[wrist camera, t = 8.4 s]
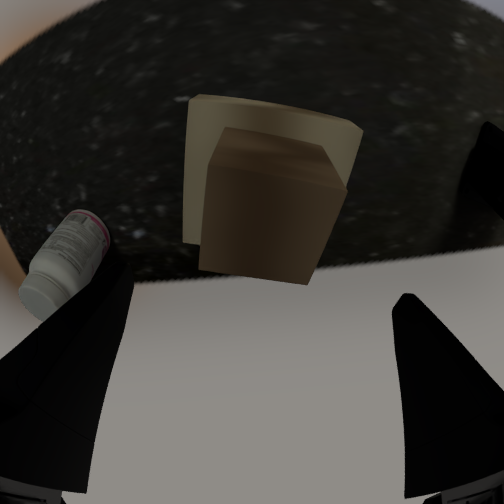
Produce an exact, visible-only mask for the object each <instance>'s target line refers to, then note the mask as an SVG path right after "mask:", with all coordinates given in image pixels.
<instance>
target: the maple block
mask: <svg viewBox="0 0 504 504" xmlns="http://www.w3.org/2000/svg"><path fill="white" fill-rule="evenodd" d="M225 127H230V128H237V129H243V130H249V131H255V132H261V133H266V134H271V135H277V136H281V137H286V138H291V139H295V140H300V141H304V142H308V143H313V144H317V145H321V146H322V147H323V148H324V150H325V152H326V153H327V155H328V157H329V159H330V160H331V162H332V164H333V165H334V167H335V169H336V171H337V173H338V174H339V176H340V178H341V180H342V182H343V183H344V185H345V187H346V185H347V182H348V179H349V176H350V173H351V170H352V167H353V164H354V160H355V157H356V154H357V151H358V148H359V144H360V141H361V138H362V134H363V131H362V130H361V129H360V128H359V127H357V126H356V125H355V124H353V123H352V122H351V121H349V120H345V119H342V118H338V117H334V116H330V115H326V114H322V113H318V112H314V111H310V110H305V109H300V108H296V107H291V106H286V105H280V104H275V103H269V102H263V101H256V100H249V99H241V98H233V97H224V96H214V95H201V94H199V95H197V96H196V97H194V98H192V99H191V100H189V107H188V119H187V132H186V148H185V167H184V195H183V243H191V244H198V245H200V242H201V229H202V218H203V207H204V196H205V186H206V177H207V168H208V163H209V161H210V159H211V156H212V154H213V152H214V150H215V147H216V145H217V143H218V141H219V139H220V136H221V134H222V132H223V130H224V128H225Z"/></svg>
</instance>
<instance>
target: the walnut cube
mask: <svg viewBox="0 0 504 504" xmlns="http://www.w3.org/2000/svg"><path fill="white" fill-rule="evenodd" d="M347 192H348V191H347V189H346V187H345V185H344V183H343V182H342V180H341V178H340V176H339V174H338V173H337V171H336V169H335V167H334V165H333V164H332V162H331V160H330V159H329V157H328V155H327V153H326V152H325V150H324V148H323V147H322V146H321V145H317V144H313V143H308V142H304V141H300V140H295V139H291V138H286V137H281V136H277V135H271V134H266V133H261V132H255V131H249V130H243V129H237V128H230V127H225V128H224V130H223V132H222V134H221V136H220V139H219V141H218V143H217V145H216V147H215V150H214V152H213V154H212V156H211V159H210V161H209V163H208V168H207V177H206V186H205V196H204V207H203V218H202V229H201V242H200V256H199V270H206V271H212V272H218V273H225V274H232V275H238V276H245V277H252V278H259V279H266V280H273V281H280V282H288V283H295V284H302V285H308V283H309V281H310V279H311V276H312V274H313V272H314V270H315V268H316V265H317V263H318V261H319V259H320V256H321V254H322V252H323V250H324V247H325V245H326V243H327V240H328V238H329V236H330V233H331V231H332V229H333V226H334V224H335V222H336V219H337V217H338V214H339V212H340V209H341V207H342V204H343V202H344V199H345V197H346V194H347Z"/></svg>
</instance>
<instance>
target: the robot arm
mask: <svg viewBox="0 0 504 504" xmlns="http://www.w3.org/2000/svg"><path fill="white" fill-rule="evenodd" d="M465 189H466V190H465ZM460 192H461V194H463V195H464V196H465V197H468V198H470V199H473V200H475V201H477V202H480V203H482V204H484V205H487V206H489V207H491V208H493V210H494V211H495V212H496V213H497V214H498V215H499V216H500V217H501V218H502V219H503V220H504V132H503V131H502V130H500V129H499V128H498V127H496V126H495V125H494V124H492V123H490V122H488V121H487V122H485V123H484V126H483V129H482V132H481V135H480V138H479V141H478V144H477V147H476V149H475V152H474V155H473V157H472V160H471V163H470V165H469V168H468V170H467V173H466V175H465V177H464V180H463V182H462V184H461V187H460ZM133 289H134V280H133V275H132V270H131V266H130V264H129V263H126V262H119V261H118V262H116V263H114V264H113V265H112V266H110V267H109V268H108V269H106V270H105V271H104V272H103V273H101V274H100V275H99V276H97V277H96V278H95V279H94V280H92V281H91V282H90V283H89V284H87V285H86V286H85V287H84V288H83V289H81V290H80V291H79V292H78V293H76V294H75V295H74V296H73V297H72V298H70V299H69V300H68V301H67V302H66V303H65V304H63V305H62V306H61V307H60V308H59V309H58V310H56V311H55V312H54V313H53V314H52V315H51V316H50V317H48V318H47V319H46V320H45V321H44V322H43V323H42V324H41V325H40V326H39V327H38V328H36V329H35V330H34V331H33V332H32V333H31V334H29V335H28V336H27V337H26V338H25V339H24V340H23V341H22V342H21V343H19V344H18V345H17V346H16V347H15V348H14V349H12V350H11V351H10V352H9V353H8V354H6V355H5V356H4V357H3V358H1V359H0V504H66V503H65V501H64V500H63V498H62V497H61V495H62V491H68V492H76V493H85V494H86V492H87V486H88V479H89V472H90V466H91V459H92V454H93V449H94V442H95V438H96V433H97V428H98V424H99V419H100V414H101V410H102V406H103V402H104V398H105V394H106V390H107V387H108V383H109V379H110V375H111V372H112V368H113V365H114V361H115V358H116V355H117V352H118V348H119V345H120V342H121V339H122V336H123V332H124V329H125V324H126V319H127V315H128V310H129V306H130V301H131V297H132V293H133ZM392 321H393V332H394V344H395V355H396V361H397V367H398V375H399V382H400V391H401V400H402V411H403V423H404V441H405V491H404V497H405V499H407V498H413V497H418V496H423V495H428V494H433V493H437V492H440V493H438V494H436V495H434V496H432V497H429V498H427V499H425V501H424V503H423V504H504V391H503V390H502V388H501V387H499V385H498V384H497V383H496V382H495V381H494V380H493V379H492V378H491V377H490V376H489V374H488V373H487V372H486V371H485V370H484V369H483V367H482V366H481V365H480V364H479V363H478V362H477V360H475V358H474V357H473V356H472V355H471V354H470V352H469V351H468V350H467V349H466V348H465V347H464V346H463V344H462V343H461V342H460V341H459V340H458V339H457V338H456V337H455V336H454V335H453V333H452V332H450V330H449V329H448V328H447V327H446V326H445V325H444V324H443V323H442V322H441V321H440V320H439V319H438V318H437V316H436V315H435V314H434V313H433V312H432V311H430V309H429V308H428V307H426V305H424V303H423V302H422V301H421V300H420V299H419V298H418V297H417V296H416V295H414V294H411V293H404V294H403V295H402V296H401V297H400V299H399V300H398V302H397V303H396V305H395V306H394V307H393V310H392Z"/></svg>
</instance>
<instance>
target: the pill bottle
mask: <svg viewBox="0 0 504 504" xmlns="http://www.w3.org/2000/svg"><path fill="white" fill-rule="evenodd" d="M109 246H110V234H109V231H108V229H107V227H106V226H105V224H104V223H103V222H102V221H101V219H100V218H99V217H97V216H96V215H95V214H93V213H92V212H90V211H87V210H75V211H72V212H71V213H69V214H68V215H67V216H66V217H65V219H64V220H63V221H62V222H61V224H60V225H59V226H58V227H57V228H56V230H55V231H54V232H53V233H52V235H51V236H50V237H49V238H48V240H47V241H46V242H45V243H44V245H43V246H42V247H41V249H40V250H39V251H38V253H37V254H36V255H35V257H34V258H33V260H32V261H31V263H30V267H29V274H28V275H27V277H26V279H25V280H24V282H23V283H22V285H21V287H20V288H19V297H20V299H21V301H22V303H23V304H24V306H25V307H26V308H27V309H28V310H29V311H30V312H31V313H32V314H33V315H34V316H35V317H37V318H38V319H40V320H41V321H43V322H44V321H45V320H46V319H47V318H48V317H50V316H51V315H52V314H53V313H54V312H55V311H56V310H58V309H59V308H60V307H61V306H62V305H63V304H65V303H66V302H67V301H68V300H69V299H70V298H72V297H73V296H74V295H75V294H76V293H78V292H79V291H80V290H81V289H83V288H84V287H85V286H86V285H87V284H89V283H90V281H91V279H92V277H93V275H94V274H95V272H96V270H97V268H98V266H99V265H100V263H101V261H102V259H103V257H104V256H105V254H106V252H107V250H108V249H109Z"/></svg>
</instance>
